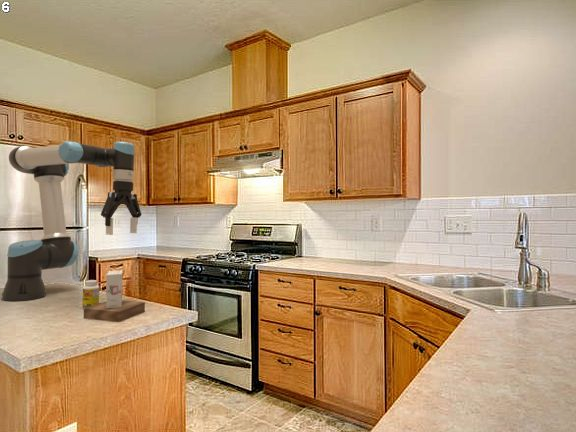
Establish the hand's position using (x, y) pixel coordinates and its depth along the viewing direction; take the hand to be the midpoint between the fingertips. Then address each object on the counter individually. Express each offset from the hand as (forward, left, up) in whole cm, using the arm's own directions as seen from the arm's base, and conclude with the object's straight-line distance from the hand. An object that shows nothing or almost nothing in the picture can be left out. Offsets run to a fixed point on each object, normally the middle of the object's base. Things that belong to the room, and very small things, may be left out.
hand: (121, 233), depth 151 cm
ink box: (+10, -16, -24) cm, 31 cm away
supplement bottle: (-4, -11, -28) cm, 30 cm away
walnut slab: (+11, -16, -28) cm, 34 cm away
